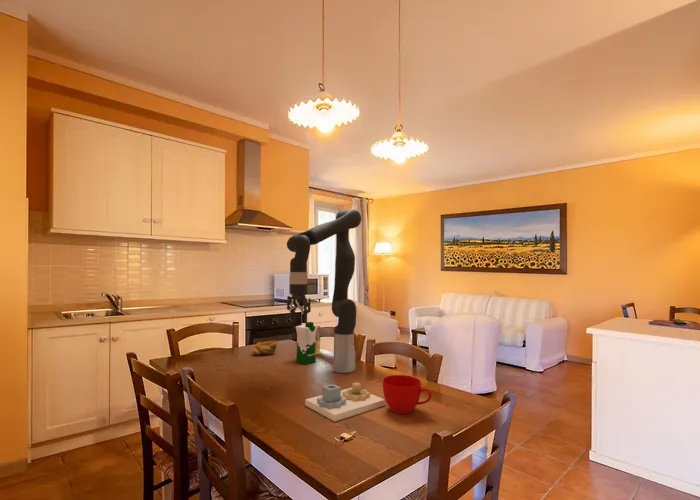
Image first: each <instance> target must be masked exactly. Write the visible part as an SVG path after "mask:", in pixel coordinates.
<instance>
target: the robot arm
mask: <svg viewBox="0 0 700 500" xmlns="http://www.w3.org/2000/svg"><path fill="white" fill-rule="evenodd" d="M361 222H362V214H361V213H360V212H359V211H358V210H357V209H356V208H354V209H353V208H348V209H342V210H339V211H338V212H337V213H336V217H335V219H333V220H330V221H327V222H324V223H321V224H318V225H316V226H313V227H312V228H309V229H308V230H305V231H303V232H299V233H297V234H294V235H292V236H290V237H289V238H288V239H287V242H286V248H287V249H288V250H289V251H290V252H292V253H295V254H294V257H293V258H291V259H290V261H289V281H288V282H289V289H288V290H289V295H287V299H286V300H287V301H286V310H288V311H289V315H290V316H289V317H290V318H289V319H290V321H291V322H295V321H296V319H297V317H296V311H297V308H298V310H299V311H300V312H301V324H306V323H307V322H308V314H309V313H311V312H312V310H311V297H306V295H307V294H308V283H309V282H308V280H309V279H308V259H309V255H310V252H311V251H310V250H311V246H314V245H317V244H319V243H321V242H323V241H325V240H328V239H329V238H331V237H333V236H335V237H336V239H335V240H336V241H335V242H336V244H335V245H336V247H335V263H334V265H335V267H334V268H335V269H334V286H333V287H334V288H333V295H332V302H331V311H332V314H333V315H334V316H335V317H337V318H338V321H337V322H338V323H337V325H336V326H334V328H333V372H335V373H338V374H349V373H353V372H354V371H356V349H355V348H354V347H355V345H354V344H355V339H354V338H355V337H354V336H355V329H356V325H357V323H356V322H357V306H356V303H355V302H354V301H353V300H352V299H349V297H348V294H349V286H350V284H351V281H352V278H353V276H354V273H355V265H356V256H355V252H354V250H353V247H352V245H351V242H350V238H349V237H350V235H349V233H350V230H351V229H355V228H358V227H359V226H360V224H361Z"/></svg>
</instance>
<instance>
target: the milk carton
mask: <svg viewBox="0 0 700 500" xmlns="http://www.w3.org/2000/svg"><path fill="white" fill-rule="evenodd" d="M314 325H315V323H314V322H313V321H307V323H305V324H301V325H296V326H295V330H296V358H295V363H297V364H302V365H307V366H308V365H310V364H313V363H314V364H315V363H317V362H316V354H315V334H316V329H317V326H314Z"/></svg>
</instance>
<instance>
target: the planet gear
mask: <svg viewBox="0 0 700 500" xmlns="http://www.w3.org/2000/svg"><path fill="white" fill-rule="evenodd" d="M341 388H342V387H340V386H338V385H336V384H334V383H331V384H328V385H324V386H322V397H320V398H317V403H318V404H319V407H326V408H328V409H331V408H341V405H345V404H346V399H343V396H341V390H342V389H341Z"/></svg>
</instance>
